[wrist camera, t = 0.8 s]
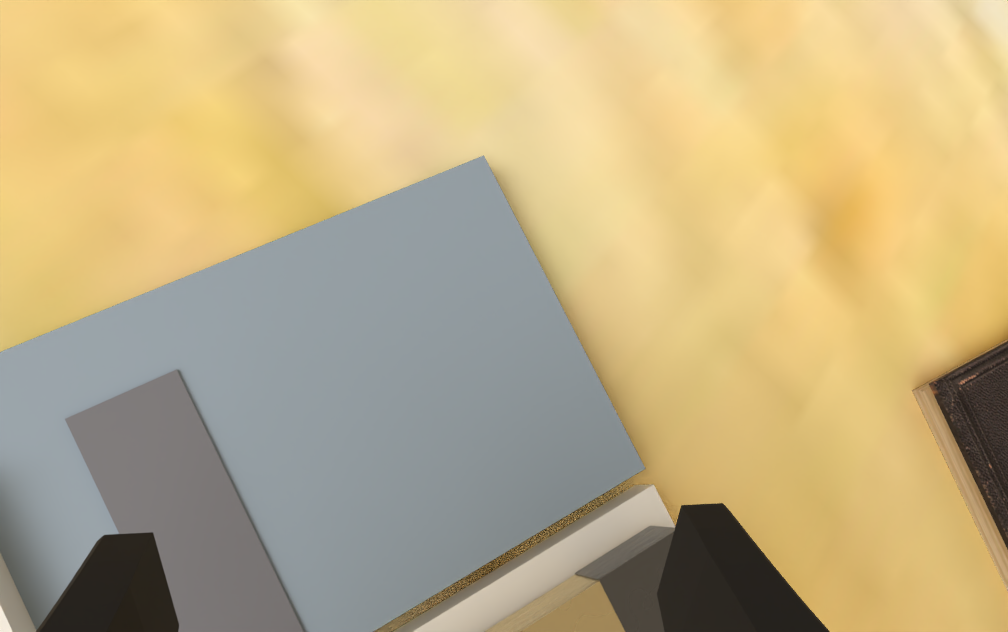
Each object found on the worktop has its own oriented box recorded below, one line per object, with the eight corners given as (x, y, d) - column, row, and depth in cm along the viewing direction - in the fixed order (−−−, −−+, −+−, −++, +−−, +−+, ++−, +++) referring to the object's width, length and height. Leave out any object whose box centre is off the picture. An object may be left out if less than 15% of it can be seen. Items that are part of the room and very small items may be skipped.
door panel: (627, 469, 29) (670, 466, 26) (-36, 862, 22) (-86, 925, 19) (473, 171, 30) (497, 134, 27) (-219, 456, 23) (-297, 450, 19)
